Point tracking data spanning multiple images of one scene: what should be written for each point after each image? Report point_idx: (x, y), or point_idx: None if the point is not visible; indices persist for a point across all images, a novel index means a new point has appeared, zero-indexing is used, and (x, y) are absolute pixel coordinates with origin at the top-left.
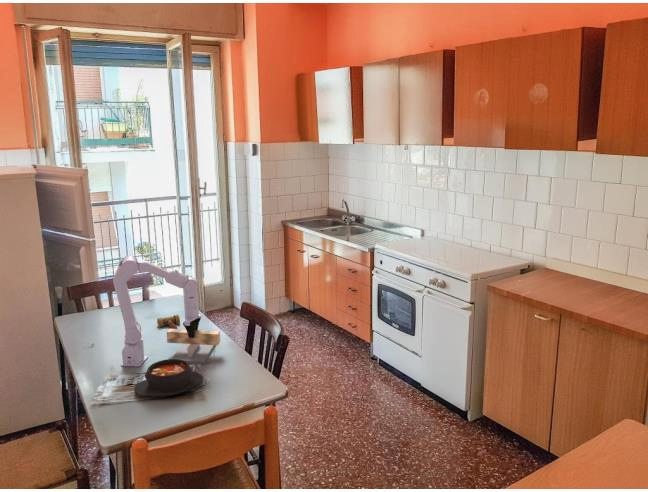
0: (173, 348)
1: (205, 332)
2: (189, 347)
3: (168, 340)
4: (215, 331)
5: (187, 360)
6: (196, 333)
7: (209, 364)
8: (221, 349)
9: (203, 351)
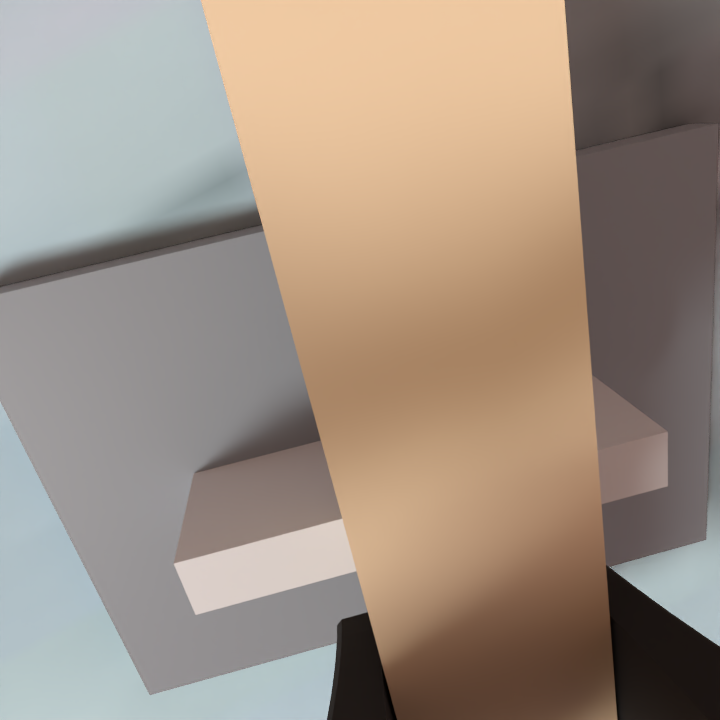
0: (324, 688)
1: (494, 398)
2: (642, 467)
3: None
4: (288, 93)
5: (705, 356)
6: (606, 581)
7: (699, 19)
8: (114, 94)
9: None
